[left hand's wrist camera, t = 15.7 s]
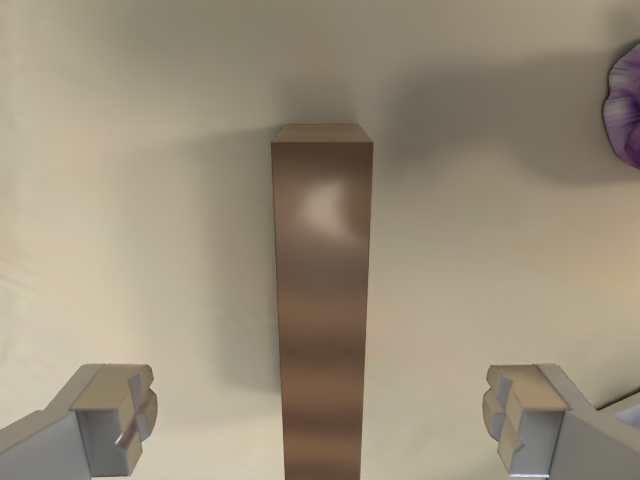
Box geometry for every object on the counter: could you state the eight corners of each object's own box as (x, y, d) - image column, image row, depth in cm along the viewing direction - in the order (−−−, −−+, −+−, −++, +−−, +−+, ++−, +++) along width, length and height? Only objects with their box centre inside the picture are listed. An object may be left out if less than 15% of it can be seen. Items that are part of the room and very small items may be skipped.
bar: (285, 124, 30) (270, 142, 22) (358, 123, 30) (373, 142, 22) (293, 398, 39) (285, 490, 30) (350, 398, 39) (359, 490, 30)
